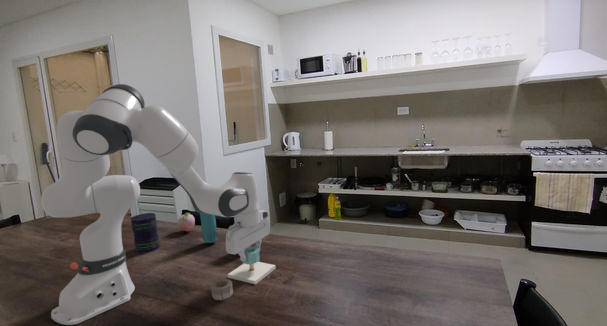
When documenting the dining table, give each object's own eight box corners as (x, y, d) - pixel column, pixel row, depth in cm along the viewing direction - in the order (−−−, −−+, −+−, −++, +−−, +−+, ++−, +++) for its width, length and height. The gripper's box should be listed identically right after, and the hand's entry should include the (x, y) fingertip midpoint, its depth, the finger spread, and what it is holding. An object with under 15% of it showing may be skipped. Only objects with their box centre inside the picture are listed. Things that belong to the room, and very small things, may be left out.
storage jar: (164, 244, 146) (160, 212, 144) (152, 253, 137) (147, 219, 134) (143, 244, 147) (139, 213, 145) (130, 253, 138) (125, 220, 135)
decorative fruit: (179, 230, 164) (176, 211, 163) (196, 227, 167) (193, 208, 165) (178, 236, 155) (175, 216, 154) (195, 233, 158) (193, 213, 156)
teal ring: (252, 265, 109) (251, 255, 108) (238, 262, 112) (237, 252, 111) (263, 258, 114) (262, 248, 113) (249, 255, 117) (248, 245, 116)
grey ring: (228, 300, 98) (227, 289, 97) (209, 299, 98) (208, 288, 98) (235, 289, 103) (234, 279, 103) (217, 289, 104) (216, 278, 104)
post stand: (255, 284, 106) (253, 266, 105) (227, 277, 112) (226, 260, 111) (275, 268, 116) (274, 252, 115) (249, 262, 122) (248, 247, 121)
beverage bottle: (216, 245, 140) (211, 201, 137) (201, 246, 141) (195, 202, 138) (220, 240, 147) (215, 197, 144) (205, 240, 147) (201, 198, 144)
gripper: (233, 229, 100) (238, 270, 102) (271, 210, 118) (274, 246, 120) (218, 226, 103) (223, 267, 105) (257, 208, 121) (260, 243, 123)
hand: (250, 255), depth 112 cm, fingers closed on teal ring, 6 cm apart
